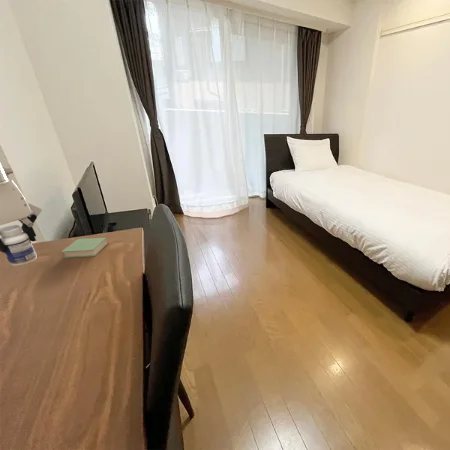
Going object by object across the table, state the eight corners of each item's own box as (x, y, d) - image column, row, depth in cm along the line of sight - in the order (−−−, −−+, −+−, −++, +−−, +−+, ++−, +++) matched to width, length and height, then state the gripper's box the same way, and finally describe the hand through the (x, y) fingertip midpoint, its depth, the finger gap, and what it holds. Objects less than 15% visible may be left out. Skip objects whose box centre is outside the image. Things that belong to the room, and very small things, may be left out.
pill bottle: (9, 260, 73) (-7, 227, 69) (36, 253, 76) (23, 221, 72) (10, 268, 69) (-7, 235, 65) (38, 261, 73) (24, 228, 69)
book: (64, 257, 93) (61, 251, 92) (80, 244, 101) (77, 238, 100) (95, 256, 94) (92, 250, 93) (108, 243, 102) (106, 237, 101)
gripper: (20, 167, 71) (47, 229, 79) (-82, 185, 57) (-37, 258, 65) (37, 171, 69) (63, 234, 77) (-66, 191, 54) (-21, 266, 62)
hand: (17, 244), depth 71 cm, fingers closed on pill bottle, 5 cm apart
